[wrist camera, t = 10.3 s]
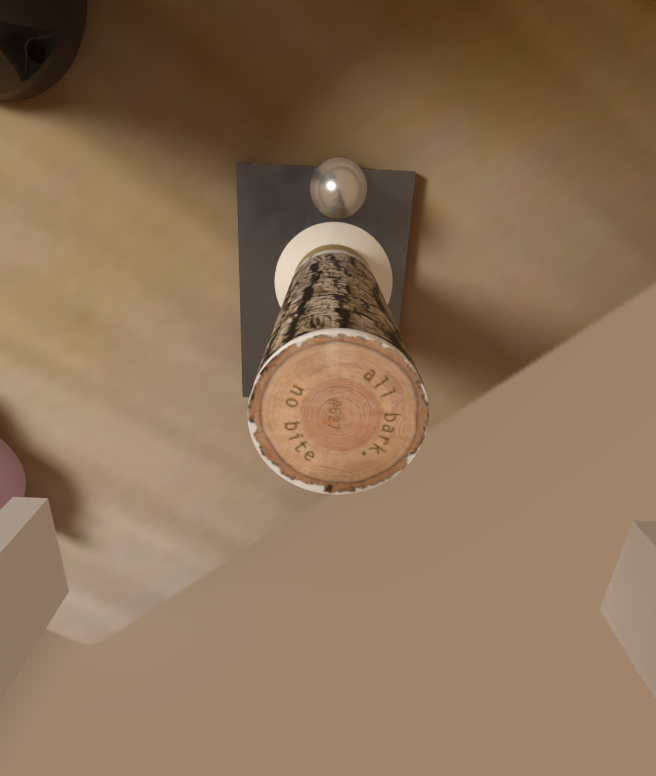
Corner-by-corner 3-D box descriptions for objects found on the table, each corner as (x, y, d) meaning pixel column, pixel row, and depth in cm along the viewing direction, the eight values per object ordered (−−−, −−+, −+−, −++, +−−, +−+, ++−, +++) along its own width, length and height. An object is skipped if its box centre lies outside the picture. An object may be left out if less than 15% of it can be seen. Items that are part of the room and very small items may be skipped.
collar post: (311, 156, 37) (308, 152, 32) (368, 159, 37) (374, 155, 32) (309, 216, 39) (306, 222, 34) (364, 219, 39) (369, 225, 34)
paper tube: (377, 246, 40) (444, 339, 17) (368, 326, 42) (414, 500, 19) (295, 239, 40) (248, 324, 17) (291, 320, 42) (245, 489, 19)
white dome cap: (275, 218, 39) (274, 219, 39) (398, 224, 39) (398, 225, 39) (274, 337, 43) (274, 337, 43) (386, 342, 43) (386, 343, 43)
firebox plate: (239, 163, 39) (236, 162, 38) (413, 171, 39) (416, 171, 38) (244, 391, 47) (242, 396, 45) (389, 397, 47) (391, 403, 46)
